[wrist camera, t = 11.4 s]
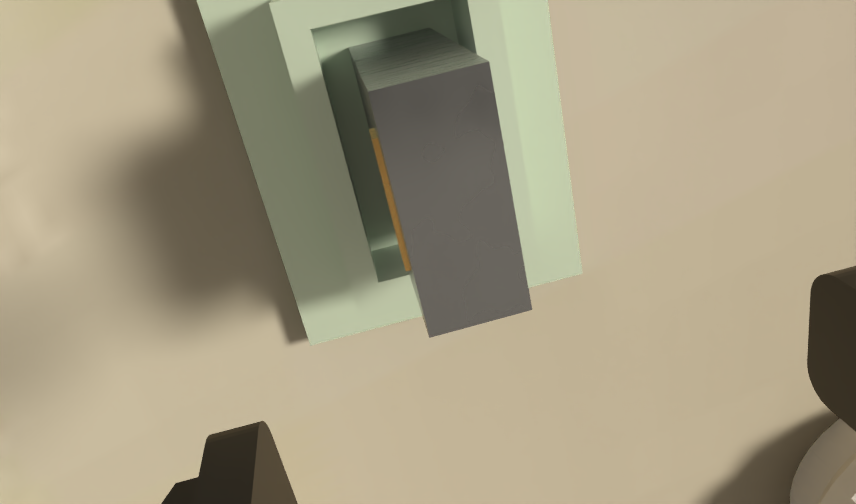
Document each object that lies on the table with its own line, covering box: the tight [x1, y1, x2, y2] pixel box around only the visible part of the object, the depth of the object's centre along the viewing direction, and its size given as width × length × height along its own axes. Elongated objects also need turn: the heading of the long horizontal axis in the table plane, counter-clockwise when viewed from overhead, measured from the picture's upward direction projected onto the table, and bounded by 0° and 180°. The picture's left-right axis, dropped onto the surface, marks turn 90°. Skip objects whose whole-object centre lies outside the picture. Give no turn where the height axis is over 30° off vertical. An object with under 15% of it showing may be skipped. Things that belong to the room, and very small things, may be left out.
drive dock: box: [197, 0, 582, 346], centre depth 25 cm, size 16×12×4 cm
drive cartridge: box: [348, 28, 532, 338], centre depth 22 cm, size 7×3×9 cm, turn 12°
